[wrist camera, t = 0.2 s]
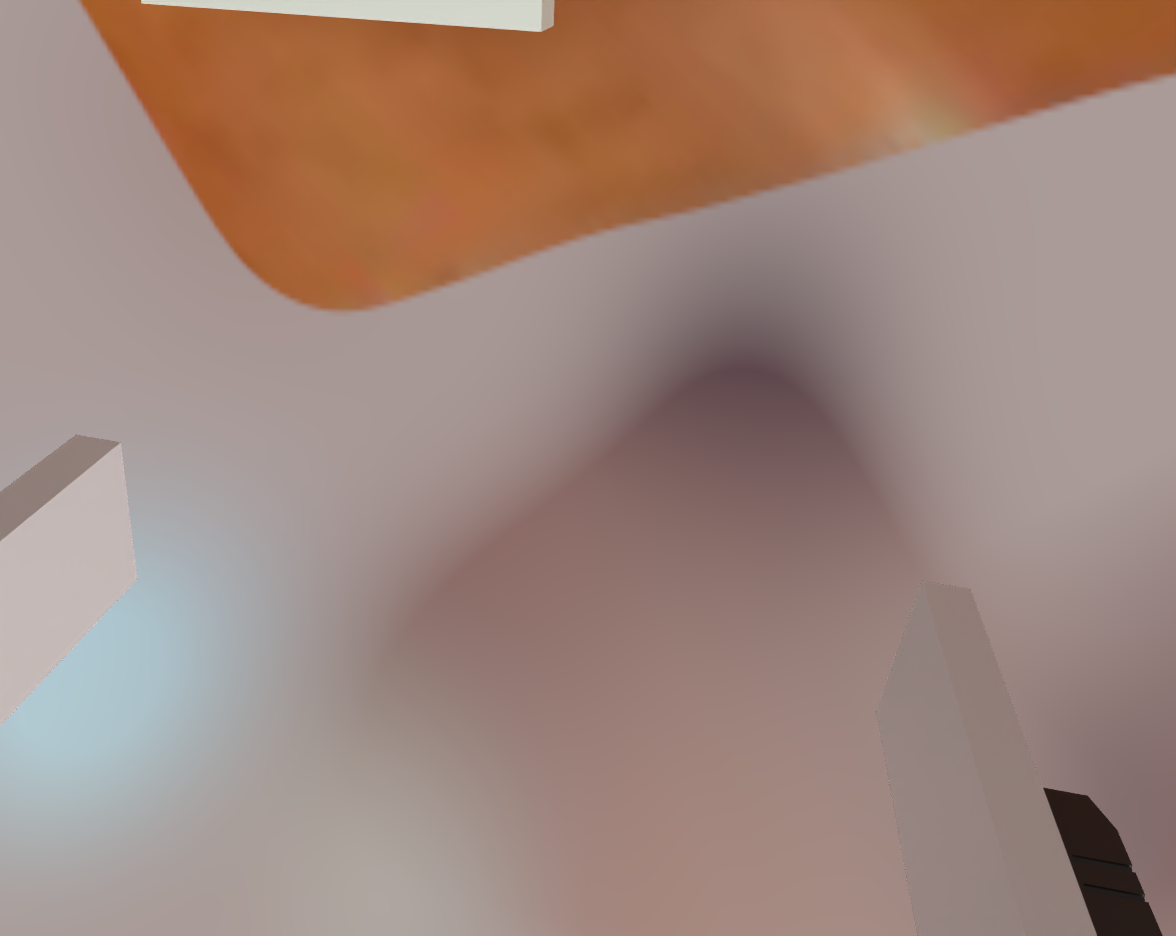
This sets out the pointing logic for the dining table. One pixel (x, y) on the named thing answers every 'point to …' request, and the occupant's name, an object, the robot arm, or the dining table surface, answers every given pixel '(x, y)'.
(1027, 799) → the robot arm
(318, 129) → the dining table surface
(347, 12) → the shallow white square tray
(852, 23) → the dining table surface
